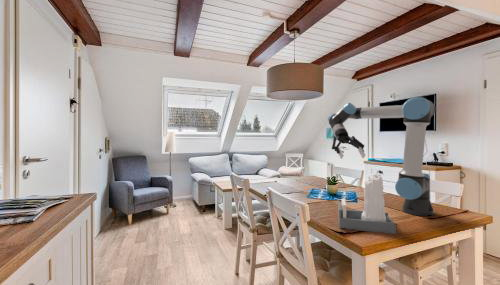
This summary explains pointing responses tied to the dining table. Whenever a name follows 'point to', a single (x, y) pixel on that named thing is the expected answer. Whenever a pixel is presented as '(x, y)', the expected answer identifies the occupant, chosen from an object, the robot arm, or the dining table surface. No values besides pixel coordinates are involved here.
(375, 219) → the decorative vase
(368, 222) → the grey tray
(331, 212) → the dining table surface
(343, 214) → the plate
